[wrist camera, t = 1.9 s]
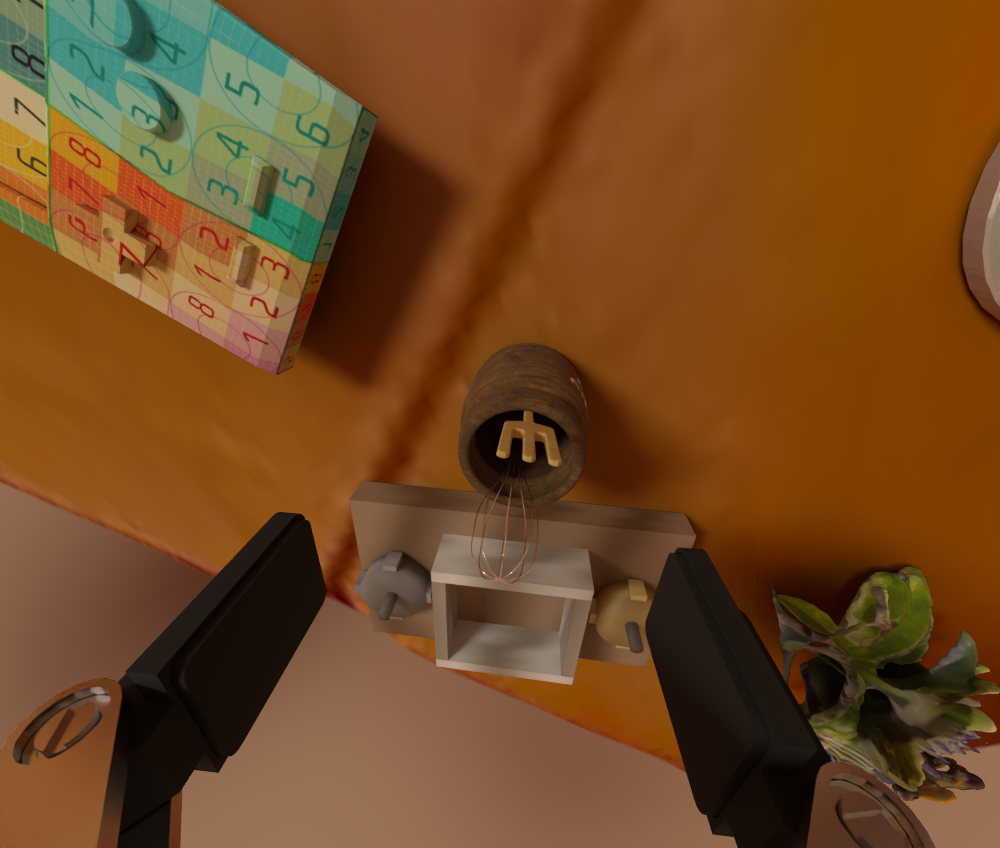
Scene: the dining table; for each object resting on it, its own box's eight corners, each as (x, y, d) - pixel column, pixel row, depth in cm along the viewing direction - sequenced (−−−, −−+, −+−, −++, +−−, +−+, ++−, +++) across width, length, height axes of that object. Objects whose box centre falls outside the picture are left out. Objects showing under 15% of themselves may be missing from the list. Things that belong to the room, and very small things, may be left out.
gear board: (684, 513, 23) (718, 579, 19) (639, 640, 29) (656, 713, 25) (363, 481, 25) (323, 534, 20) (382, 608, 31) (355, 670, 26)
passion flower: (788, 579, 32) (802, 753, 26) (705, 538, 28) (702, 731, 23) (997, 591, 22) (1085, 866, 17) (912, 533, 19) (991, 858, 13)
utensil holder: (471, 430, 22) (404, 611, 11) (481, 325, 19) (402, 437, 8) (568, 445, 22) (593, 645, 11) (594, 341, 19) (659, 478, 8)
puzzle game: (264, 381, 17) (-240, 101, 14) (319, 353, 21) (-58, 133, 18) (351, 97, 12) (-419, -453, 9) (401, 134, 16) (-106, -228, 13)
